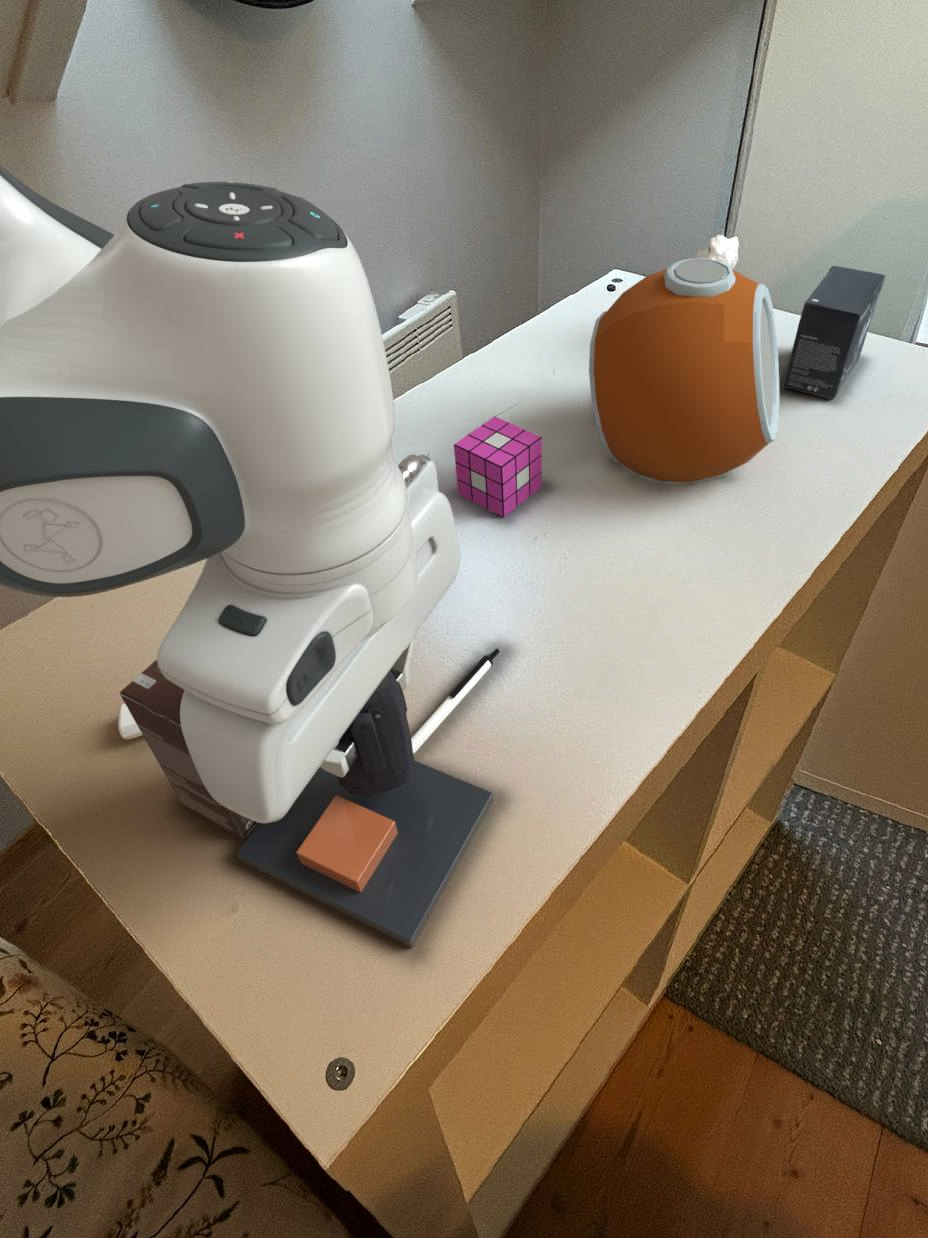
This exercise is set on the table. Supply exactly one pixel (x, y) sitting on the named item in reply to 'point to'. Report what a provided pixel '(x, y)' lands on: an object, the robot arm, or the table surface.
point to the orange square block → (347, 843)
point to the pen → (452, 700)
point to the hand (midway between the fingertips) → (367, 725)
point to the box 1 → (175, 746)
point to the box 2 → (832, 331)
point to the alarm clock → (686, 373)
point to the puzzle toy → (498, 465)
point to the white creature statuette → (722, 250)
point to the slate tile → (413, 864)
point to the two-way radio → (380, 742)
